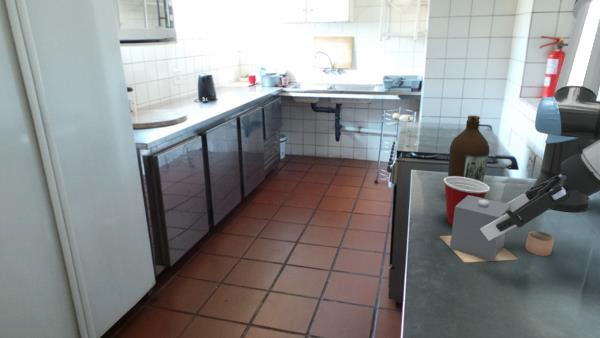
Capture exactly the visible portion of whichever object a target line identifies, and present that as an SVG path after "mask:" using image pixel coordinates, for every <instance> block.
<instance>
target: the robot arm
mask: <svg viewBox="0 0 600 338" xmlns="http://www.w3.org/2000/svg"><path fill="white" fill-rule="evenodd" d="M572 8H573V9H572V15H573V18H574V19H575V20H574V23H573V28H572V30H571V34H570V37H569V41H568V44H567V48H566V52H565V55H564V58H563V62H562V65H561V69H560V72H559V76H558V80H557V83H556V86H555V90H554V93H553V96H549V97H548V96H545V97H542V98H541V99H540V101H539V103H538V106H537V110H536V114H535V120H534V122H535V123H534V128H535V130H536V131H537V132H538V133H540V134H545V135H547V136H546V139H545V142H544V143H545V144H544V145H545V146H544V150H543V151H544V152H543V158H542V161H541V165H540V166H541V167H540V170H539V171H540V172H539V174H538V177H537V178H536V179H535V181H534V183H533V185H532V186H531V187H530V188H529V190H526V192H525V193H522V194H520V195H519V196H517V197H515V198H514V199H512V200H510V201H508V202H507V203H506V204H510V205H511V206H510V210H508V211H506V213H507V214H506V215H504V216H502V217H500V218H499V219H497V220H495V221H493V222H491V223H489V224H488V225H486V226H484V227H482V228H481V229H480V230H481V231H482V233H483V234H484V235H485V237H486V238H487V239H488V240H491V239H493V238H495V237H497V236H499V235H501V234H503V233H505V232H506V233H507V232H509V231H511V230H512V229H514V228H516V227H517V228H518V229H520V228H522V227H523V226H524V225H527V224H528V223H529V222H531V221H533V220H534V219H536V218H537V217H539V216H541V215H543V213H545V212H547V211H549V210H550V209H551V210H554V211H555V210H557V211H564V212H573V213H574V212H575V213H576V212H577V213H578V212H584V211H586V210H587V209H589V205H590V201H591V200H590V196H592V195H594V194H596V193H598V192H600V100H597V99H598V96H599V91H600V0H575V3H574V5H573V7H572Z"/></svg>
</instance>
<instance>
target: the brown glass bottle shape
mask: <svg viewBox="0 0 600 338" xmlns="http://www.w3.org/2000/svg"><path fill="white" fill-rule="evenodd" d="M480 118H481V117H480V116H479V115H474V114H473V115H468V116H467V120H466V124H465V129H463V131H462V132H460V133H459V134H458V135H456V136H455V137H454V138H453V139H452V141H451V142H450V147H449V154H448V155H449V157H448V168H447V169H448V171H447V177H450V176H458V177H466V178H471V179H474V180H477V181H480V182H483V183H484V180H485V179H484V178H485V173H486V169H487V164H488V160H489V156H490V144H489V142H488V140H487V139H486V138H485V137H484V135H483V134H482V133H481V131H480V129H479V128H480Z"/></svg>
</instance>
